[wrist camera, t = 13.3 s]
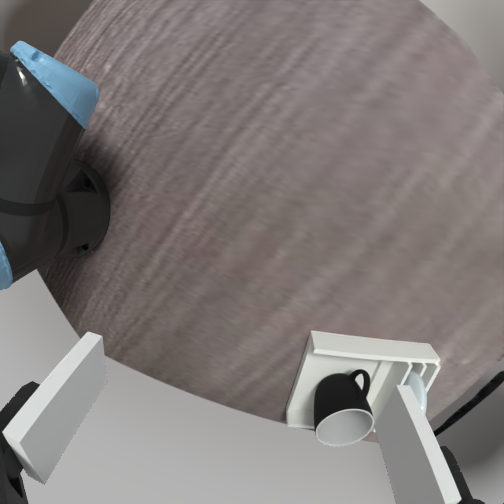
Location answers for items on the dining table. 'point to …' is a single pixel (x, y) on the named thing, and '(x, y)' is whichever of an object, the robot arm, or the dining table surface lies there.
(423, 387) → the plate in rack
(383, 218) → the dining table surface
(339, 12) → the dining table surface
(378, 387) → the dish rack
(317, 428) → the mug
